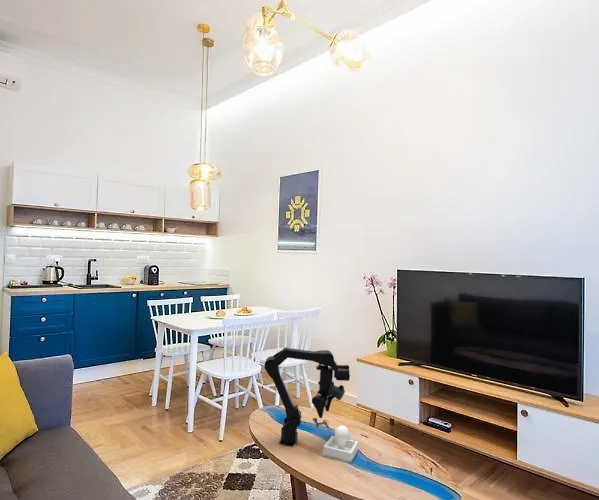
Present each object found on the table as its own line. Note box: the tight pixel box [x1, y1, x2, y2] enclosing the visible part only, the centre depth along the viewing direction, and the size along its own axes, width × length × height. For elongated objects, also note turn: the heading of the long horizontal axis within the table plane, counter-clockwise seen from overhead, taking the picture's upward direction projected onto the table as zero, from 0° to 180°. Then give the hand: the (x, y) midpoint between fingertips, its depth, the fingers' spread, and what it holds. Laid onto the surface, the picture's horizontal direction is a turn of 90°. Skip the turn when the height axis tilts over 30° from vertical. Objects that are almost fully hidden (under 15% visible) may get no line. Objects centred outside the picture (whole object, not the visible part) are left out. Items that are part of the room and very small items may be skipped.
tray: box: [322, 435, 359, 464], centre depth 178 cm, size 12×12×4 cm
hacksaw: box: [312, 417, 331, 431], centre depth 203 cm, size 24×10×2 cm, turn 11°
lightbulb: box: [334, 424, 350, 450], centre depth 178 cm, size 6×6×11 cm
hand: (324, 414), depth 186 cm, fingers open, 9 cm apart
